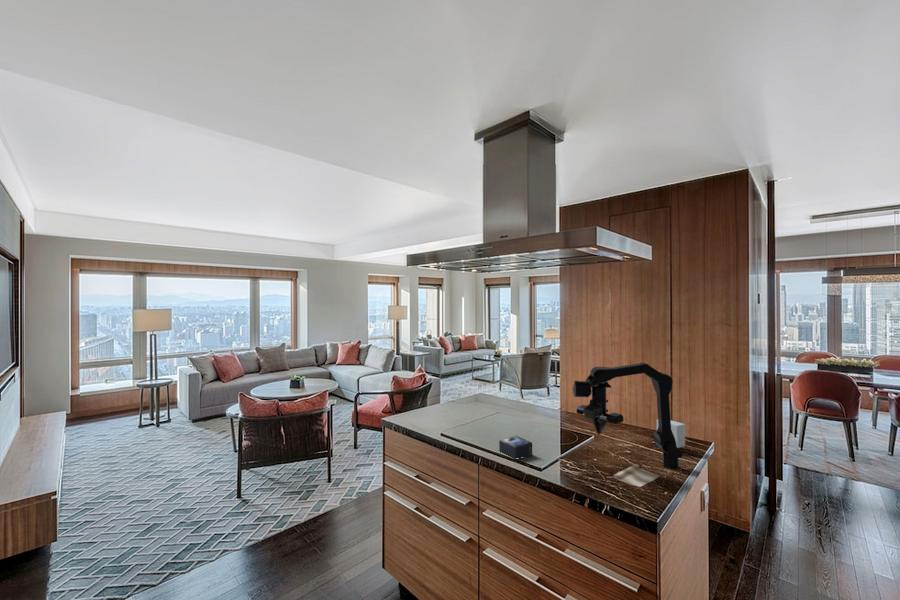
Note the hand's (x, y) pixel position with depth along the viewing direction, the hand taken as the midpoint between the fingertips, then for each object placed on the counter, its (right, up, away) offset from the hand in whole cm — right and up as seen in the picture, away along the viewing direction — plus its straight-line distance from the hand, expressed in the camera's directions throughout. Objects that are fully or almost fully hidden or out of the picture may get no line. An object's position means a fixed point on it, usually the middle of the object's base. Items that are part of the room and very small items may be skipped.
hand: (599, 434), depth 159 cm
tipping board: (+9, -12, -14) cm, 20 cm away
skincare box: (+42, -12, +20) cm, 48 cm away
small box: (-30, -9, +10) cm, 33 cm away
